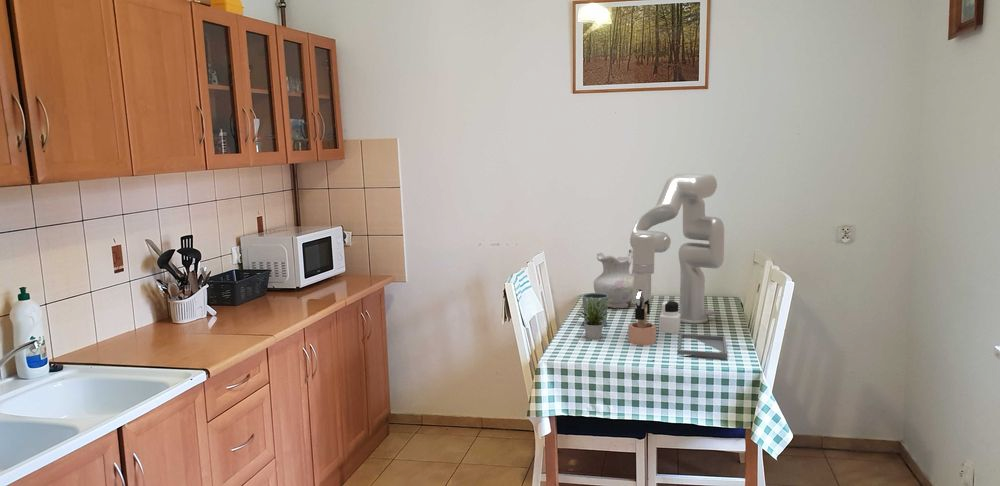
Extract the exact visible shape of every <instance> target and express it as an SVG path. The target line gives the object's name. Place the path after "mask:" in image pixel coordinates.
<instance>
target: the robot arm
mask: <svg viewBox="0 0 1000 486" xmlns="http://www.w3.org/2000/svg"><path fill="white" fill-rule="evenodd" d="M717 188H718V182H717V178H716V177H715V176H714V175H712V174H711V173H709V174H707V173H677V174H675V175H673V176H671V177H669V178H668V179H667V180H666V181H665V184H664V185H663V189H662V190H661V193H660V195H659V198H658V200H657V203H656V204H655V206H653V207H652V208H651V209H649V210H647V212H644V214H642V215H641V216H640V217H639V218H638V219H637V221H636V222H635V224H634V227H633V229H632V231H631V233H630V238H629V243H630V248H631V249H633V258H632V269H631V274H632V273H634V282H633V299H632V300H631V301H633V302H635V308H634V309H635V310H634V319H635V320H637V321H638V320H644V316H645V309H644V304H647V315H649V314H650V311H651V310H650V308H651V307H650V306H651V303H650V298H651V296H652V275H653V274H655V253H656V254H657V253H659V254H660V253H664V252H666V251H668V249H669V248H670V247H671V243H672V242H671V237H670V235H669V234H668V233H666V232H664V231H657V230H655V231H654V230H649V229H651V228H652V227H654V226H656V225H659V224H662V223H665V222H669V221H671V220H674V219H675V218H676V217H677V216H678V214H679V211H680V209H681V207H682V234H683V236H684V238H686V239H689V240H695V241H705V242H706V241H707V242H708V243H702V242H686V243H683V244H681V245H680V246H679V249H678V261H679V267H680V268H679V269H680V270H679V271H680V279H679V281H680V282H679V284H680V285H679V286H680V287H679V288H680V289H679V313H680V314H681V315H680V323H683V324H695V325H696V324H704V323H706V322H708V320H709V318H708V317H707V316H708V315H709V316H712V315H715V314H716V311H715V310H714V309H710V310H709V309H706V308H705V288H706V287H705V284H706V279H705V275H704V272H703V270H702V269H701V268H704V269H705V268H706V269H719V268H721V266H723V263H724V259H725V226H724V222H723V221H722V219H720V217H717V216H706V204H705V201H704V199H707V198H709V197H712V196H713V195H714V194H715V193H716V190H717Z"/></svg>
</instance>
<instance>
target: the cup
mask: <svg viewBox="0 0 1000 486" xmlns="http://www.w3.org/2000/svg"><path fill="white" fill-rule="evenodd" d="M627 329H628V330H627V331H628V332H627V342H629V343H630V344H632V345H636V346H652V345H654V344H655V343H656V342H657V325H656V324H654V323H652V322H647V328H638V321H636V322H631V323H629V324H628V328H627Z"/></svg>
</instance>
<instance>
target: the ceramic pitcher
mask: <svg viewBox="0 0 1000 486" xmlns="http://www.w3.org/2000/svg"><path fill="white" fill-rule="evenodd" d="M596 259H597V261H599V262H601V263H602V267H603V268H602V269H603V271H602V272H601V274H600V275H599V276H597V277H596V278H595V279H594V281H593V291H594V293H603V294H607V295H608V300H611V301H609V302H608V304H607V305H609V306H607V308H611V309H612V308H613V309H626V308H628V307H629V306H630V305H629V303H628V302H631V301H633V300H632V299H633V282H634V273H632V272H631V273H630V267H631V264H632V263H633V248H630V249H629V250H628V254H627V255H626V256H618V257H616V256H613V255H611V254H610V255H609V254H607V255H604V253H603V252H597V253H596ZM610 304H613V305H610Z"/></svg>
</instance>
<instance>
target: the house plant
mask: <svg viewBox="0 0 1000 486" xmlns="http://www.w3.org/2000/svg"><path fill="white" fill-rule="evenodd" d="M591 299H592V301H593V310H592V305H591V303H590V302H589V301H588V299H586V301H587V305H588V310H587V311H588V312H587V311H586V312H587V313H588V315H589V316H588V315H587V314H585V313H584V311H581V310H579V313H581V314H579V315H578V316H577V317H581V318H583V320H585V319H586V318H587V319H588V320H589V321H587V319H586V321H587V322H585V321H584V322H583V327H584V333H585V338H586V339H589V340H600V339H601V338H602V333H603V328H604V327H603V323H602V322H599V321H600V320H601V319H602V320H604V319H603V317H605V319H606V316H605V315H606V314H607V315H608V314H609V313H610V312H612V311H607V313H605V314H604V312H603V311H604V309H605V308H606V307H607V306H609V305H607V304H606V303H607V302H609V301H611V300H608V301H606V302H605V303H604V304H603V305H602V306H601V308H600V309H599V306H600V303H601V298H600V299H599V300H598V303H597V306H596V307H595V301H594V299H593V298H592V297H591ZM575 302H576V303H577V301H575ZM578 304H579V305H581V303H580V302H578ZM605 304H606V305H607V306H606V307H605V308H604V309H603V311H602V312H603V313H602V312H601V313H600V314H599V312H600V311H601V309H602V308H603V306H604V305H605ZM610 305H613V304H610ZM582 308H583V309H585V308H586V307H585V308H584V307H583V306H582ZM607 308H608V307H607ZM586 309H587V308H586ZM586 309H585V310H586ZM598 309H599V311H598ZM598 314H599V315H598ZM602 314H604V315H603V316H601V315H602ZM584 316H585V317H586V318H585V317H584ZM600 316H601V317H600Z"/></svg>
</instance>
